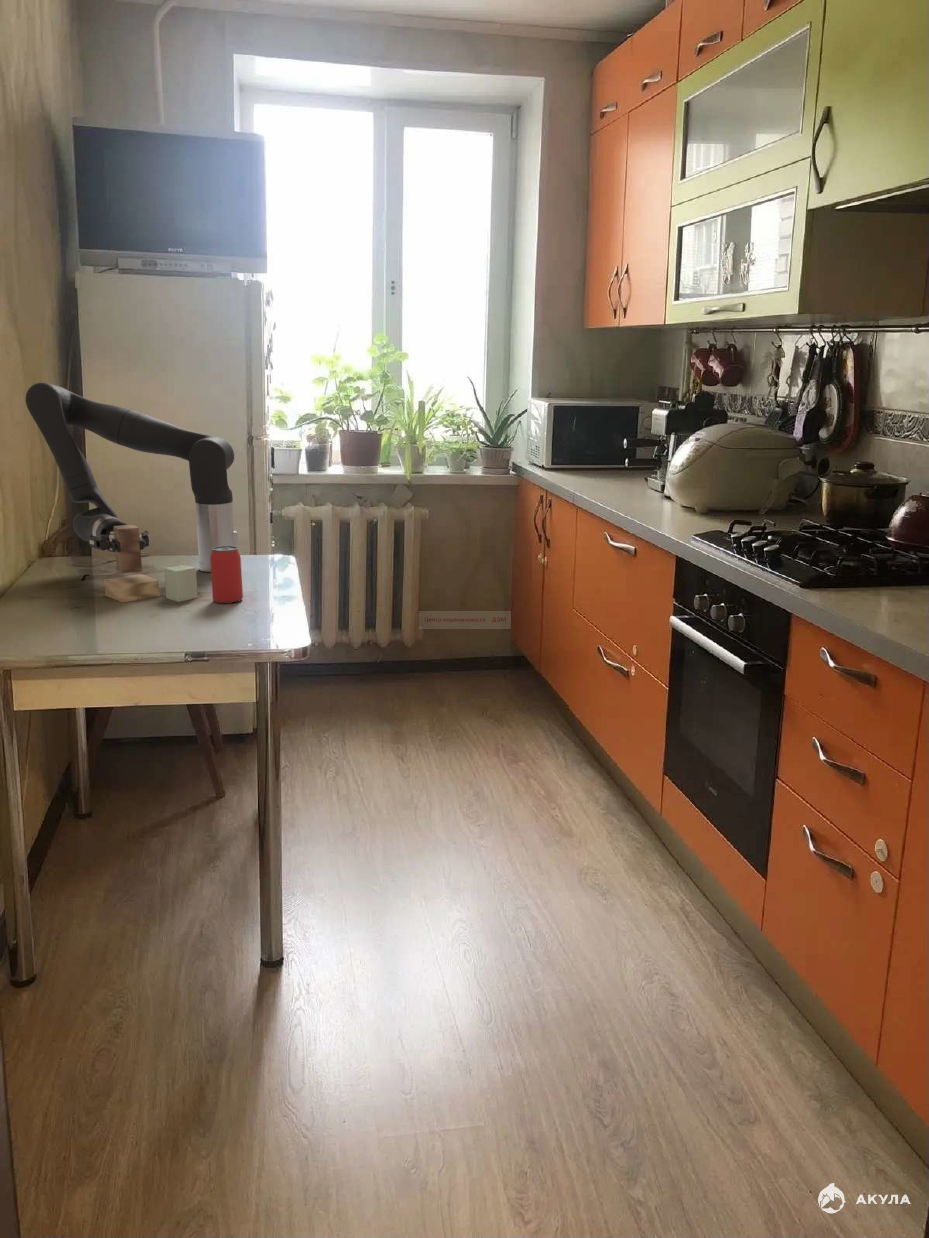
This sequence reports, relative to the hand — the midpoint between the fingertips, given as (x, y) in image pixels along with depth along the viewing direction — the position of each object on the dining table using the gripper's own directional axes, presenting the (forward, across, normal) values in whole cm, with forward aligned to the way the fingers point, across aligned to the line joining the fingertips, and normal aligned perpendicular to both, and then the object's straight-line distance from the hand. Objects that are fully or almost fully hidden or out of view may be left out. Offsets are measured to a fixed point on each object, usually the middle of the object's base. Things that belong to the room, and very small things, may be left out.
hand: (130, 546), depth 224 cm
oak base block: (-2, 0, +12) cm, 13 cm away
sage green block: (+6, +9, +12) cm, 16 cm away
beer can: (+14, +17, +12) cm, 25 cm away
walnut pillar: (-3, 0, +6) cm, 7 cm away
